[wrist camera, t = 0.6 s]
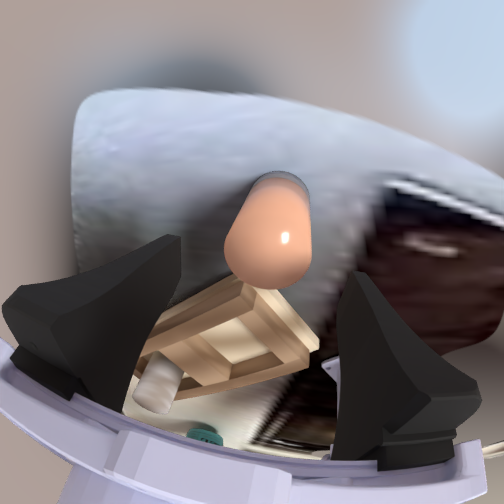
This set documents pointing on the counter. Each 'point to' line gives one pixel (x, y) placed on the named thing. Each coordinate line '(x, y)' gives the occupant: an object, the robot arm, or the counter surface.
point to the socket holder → (221, 344)
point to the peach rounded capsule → (271, 233)
